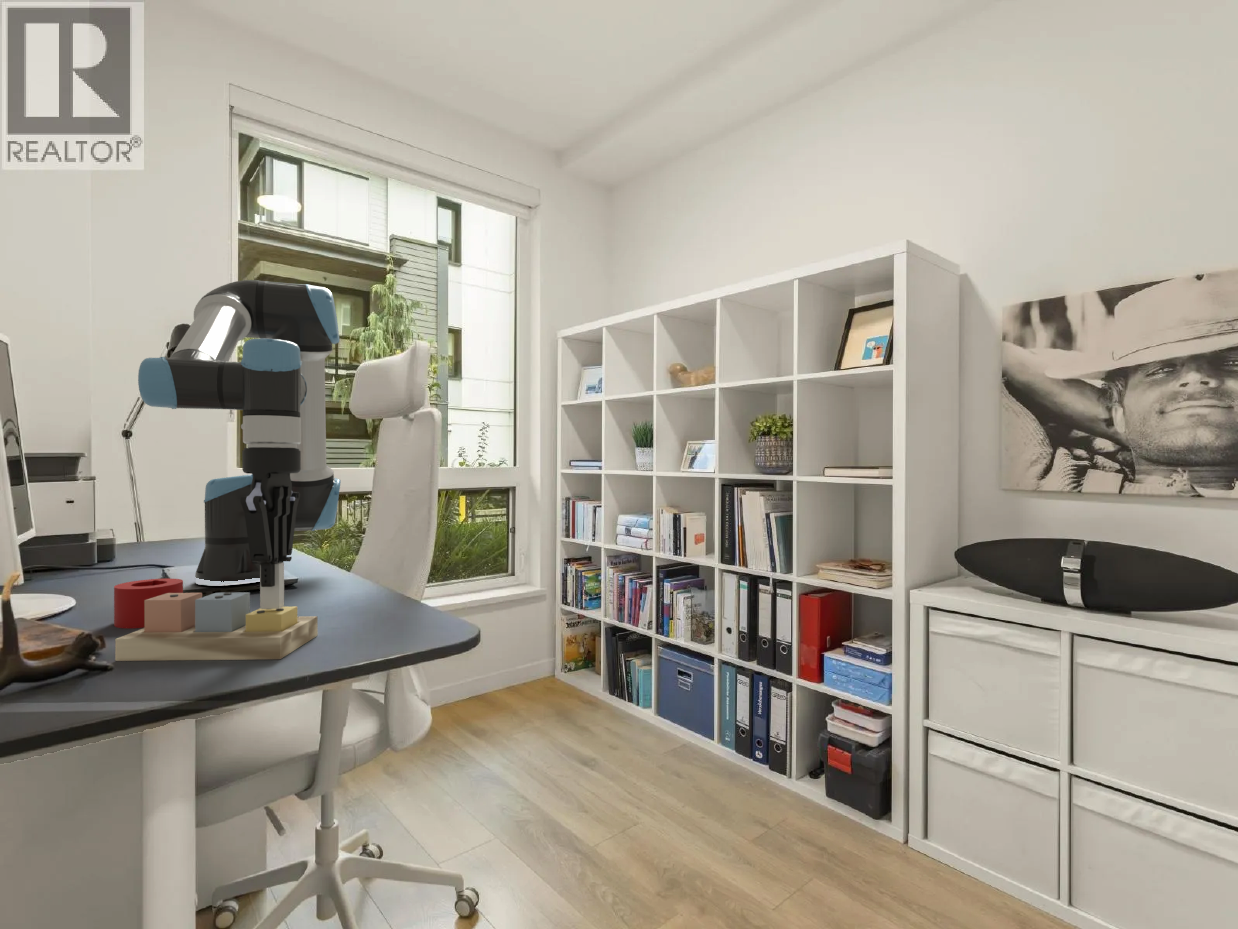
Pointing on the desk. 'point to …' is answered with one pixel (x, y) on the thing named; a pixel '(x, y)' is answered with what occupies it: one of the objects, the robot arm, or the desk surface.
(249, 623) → the tile three
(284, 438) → the robot arm
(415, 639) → the desk surface
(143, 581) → the red oval ring
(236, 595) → the tile two
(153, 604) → the tile one
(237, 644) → the button board
